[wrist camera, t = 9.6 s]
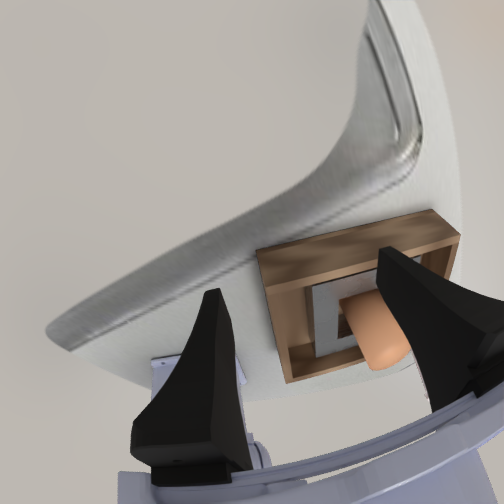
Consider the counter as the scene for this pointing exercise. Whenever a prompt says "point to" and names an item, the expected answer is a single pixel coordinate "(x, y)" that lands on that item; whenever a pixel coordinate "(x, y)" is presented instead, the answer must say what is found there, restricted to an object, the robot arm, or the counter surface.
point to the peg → (375, 329)
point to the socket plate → (335, 310)
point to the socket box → (338, 265)
